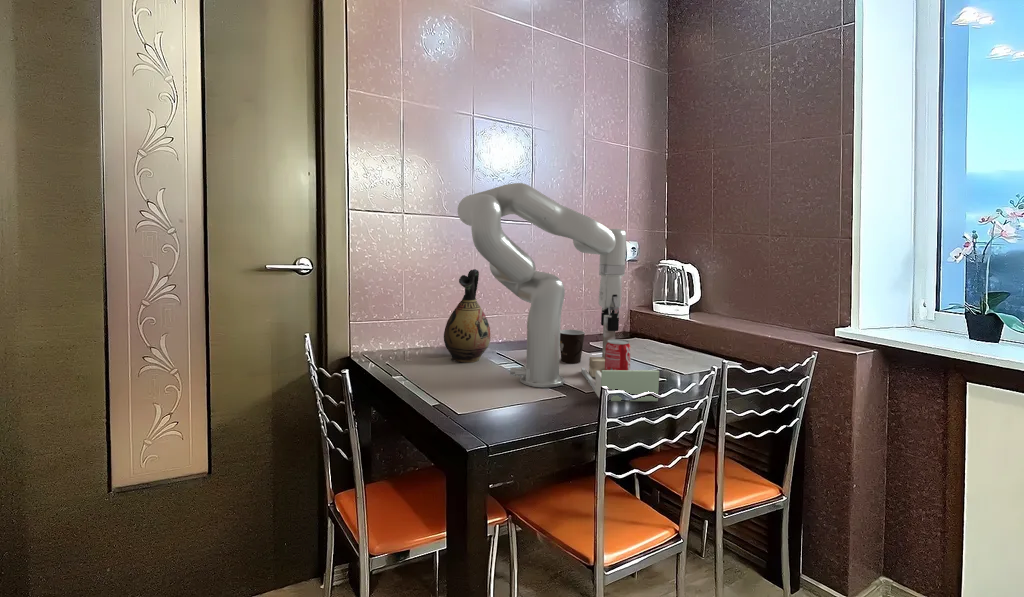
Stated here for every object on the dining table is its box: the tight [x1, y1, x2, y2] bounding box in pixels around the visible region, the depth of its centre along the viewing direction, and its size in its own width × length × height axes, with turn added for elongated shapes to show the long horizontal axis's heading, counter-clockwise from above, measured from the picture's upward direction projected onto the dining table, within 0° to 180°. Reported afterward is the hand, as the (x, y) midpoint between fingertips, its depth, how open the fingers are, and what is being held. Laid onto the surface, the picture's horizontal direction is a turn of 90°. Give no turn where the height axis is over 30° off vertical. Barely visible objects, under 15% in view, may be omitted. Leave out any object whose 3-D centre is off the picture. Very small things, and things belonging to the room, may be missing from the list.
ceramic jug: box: [443, 269, 492, 364], centre depth 188 cm, size 17×15×30 cm
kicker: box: [588, 315, 616, 378], centre depth 172 cm, size 11×6×18 cm, turn 93°
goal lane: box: [580, 367, 660, 402], centre depth 162 cm, size 15×29×8 cm, turn 3°
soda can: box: [605, 338, 632, 370], centre depth 161 cm, size 7×7×13 cm
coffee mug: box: [560, 329, 586, 365], centre depth 187 cm, size 12×9×10 cm
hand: (609, 327), depth 172 cm, fingers open, 8 cm apart
